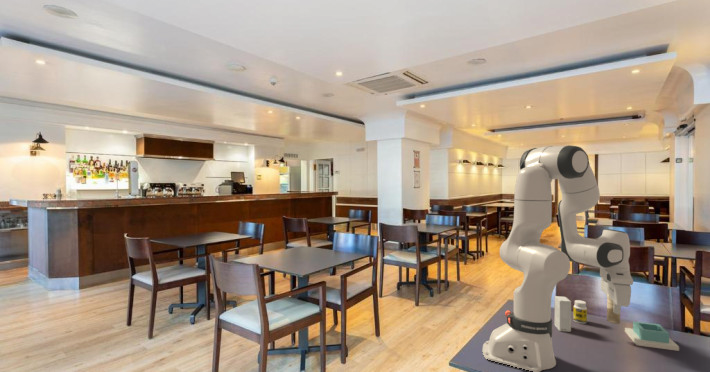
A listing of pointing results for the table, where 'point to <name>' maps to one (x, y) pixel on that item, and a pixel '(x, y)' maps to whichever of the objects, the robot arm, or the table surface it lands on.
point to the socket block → (651, 336)
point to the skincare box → (563, 313)
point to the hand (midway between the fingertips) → (613, 310)
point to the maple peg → (610, 314)
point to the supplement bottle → (580, 312)
